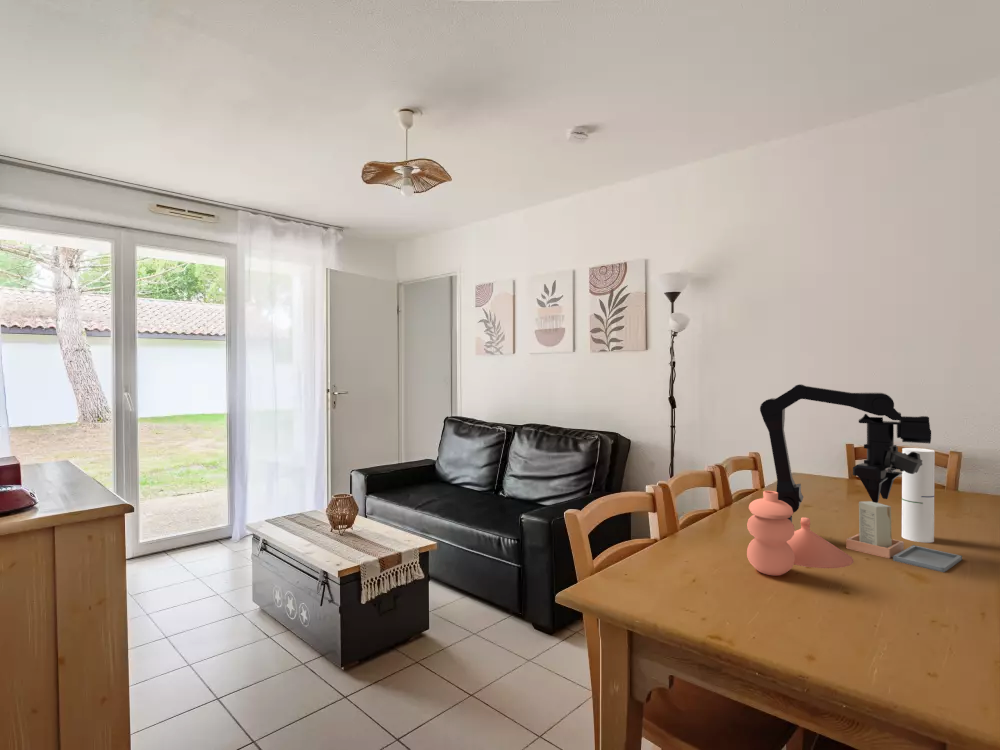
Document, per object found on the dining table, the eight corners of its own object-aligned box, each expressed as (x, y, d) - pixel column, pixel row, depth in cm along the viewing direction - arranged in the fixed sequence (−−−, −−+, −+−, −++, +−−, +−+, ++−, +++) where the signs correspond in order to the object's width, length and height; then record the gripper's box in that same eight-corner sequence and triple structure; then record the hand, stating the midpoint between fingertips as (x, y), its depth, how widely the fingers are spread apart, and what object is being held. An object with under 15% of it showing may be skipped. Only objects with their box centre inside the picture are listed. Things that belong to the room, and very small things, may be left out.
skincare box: (892, 554, 137) (893, 506, 137) (876, 554, 137) (877, 507, 137) (872, 545, 144) (873, 500, 144) (857, 546, 143) (858, 500, 143)
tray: (943, 573, 124) (943, 568, 124) (893, 561, 132) (893, 556, 132) (962, 561, 132) (962, 555, 132) (913, 549, 140) (913, 545, 140)
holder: (889, 559, 134) (889, 549, 134) (846, 548, 142) (846, 539, 142) (903, 551, 139) (903, 541, 139) (861, 541, 147) (861, 532, 147)
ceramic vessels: (781, 535, 153) (781, 469, 152) (866, 555, 136) (867, 482, 136) (716, 563, 131) (717, 487, 130) (809, 592, 114) (810, 504, 114)
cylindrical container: (939, 543, 145) (940, 452, 145) (910, 542, 147) (910, 451, 146) (924, 535, 152) (925, 448, 152) (896, 534, 154) (897, 447, 153)
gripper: (904, 447, 127) (904, 513, 127) (930, 441, 138) (930, 501, 138) (851, 442, 136) (852, 503, 137) (880, 436, 147) (880, 493, 147)
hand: (880, 500), depth 140 cm, fingers open, 6 cm apart
